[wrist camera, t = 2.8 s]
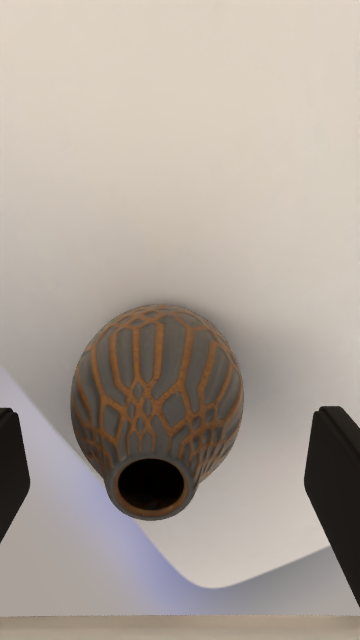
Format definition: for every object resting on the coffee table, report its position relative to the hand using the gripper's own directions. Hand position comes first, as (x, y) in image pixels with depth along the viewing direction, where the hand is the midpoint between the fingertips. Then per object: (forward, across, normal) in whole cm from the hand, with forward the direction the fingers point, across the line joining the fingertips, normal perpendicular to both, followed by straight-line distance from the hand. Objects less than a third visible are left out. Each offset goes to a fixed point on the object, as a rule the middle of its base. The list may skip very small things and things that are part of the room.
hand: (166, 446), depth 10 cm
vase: (+7, 0, 0) cm, 7 cm away
